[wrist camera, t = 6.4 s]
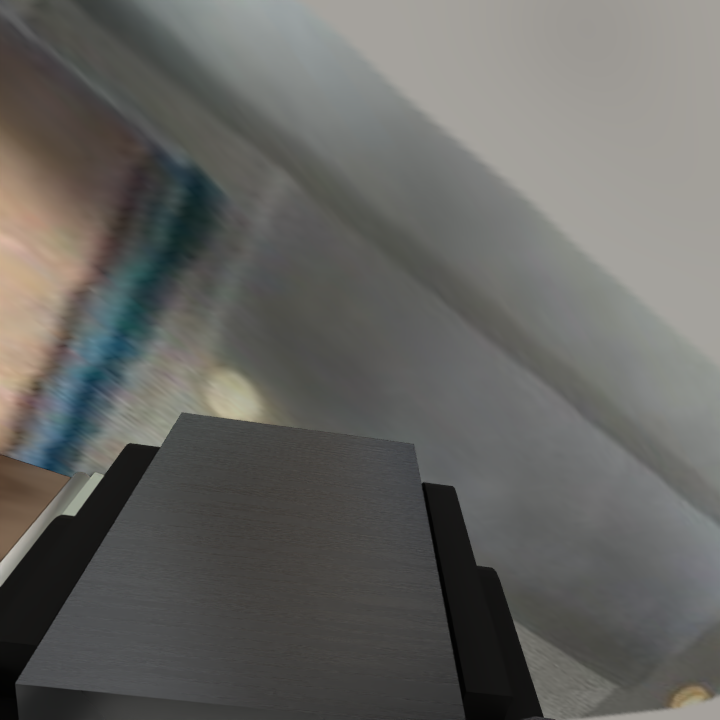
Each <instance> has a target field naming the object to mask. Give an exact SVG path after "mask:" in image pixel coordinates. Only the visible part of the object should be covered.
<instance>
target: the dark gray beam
mask: <svg viewBox="0 0 720 720" xmlns="http://www.w3.org/2000/svg"><path fill="white" fill-rule="evenodd" d="M15 687H16V697H17V706H18V716H19V720H466V719H465V714H464V708H463V703H462V698H461V692H460V687H459V682H458V676H457V671H456V666H455V660H454V655H453V650H452V644H451V639H450V634H449V628H448V623H447V618H446V613H445V607H444V602H443V597H442V591H441V586H440V581H439V575H438V570H437V565H436V559H435V554H434V549H433V543H432V538H431V533H430V527H429V522H428V517H427V511H426V506H425V501H424V496H423V490H422V485H421V480H420V474H419V469H418V464H417V458H416V453H415V448H414V444H410V443H402V442H395V441H388V440H380V439H373V438H366V437H358V436H351V435H343V434H336V433H329V432H321V431H314V430H307V429H299V428H292V427H285V426H277V425H270V424H262V423H255V422H248V421H240V420H233V419H226V418H218V417H211V416H203V415H196V414H189V413H181V415H180V416H179V418H178V420H177V421H176V423H175V424H174V426H173V428H172V429H171V431H170V433H169V434H168V436H167V437H166V439H165V441H164V442H163V444H162V446H161V447H160V449H159V450H158V452H157V454H156V455H155V457H154V459H153V460H152V462H151V463H150V465H149V467H148V468H147V470H146V472H145V473H144V475H143V476H142V478H141V480H140V481H139V483H138V485H137V486H136V488H135V489H134V491H133V493H132V494H131V496H130V498H129V499H128V501H127V502H126V504H125V506H124V507H123V509H122V511H121V512H120V514H119V516H118V517H117V519H116V520H115V522H114V524H113V525H112V527H111V529H110V530H109V532H108V533H107V535H106V537H105V538H104V540H103V542H102V543H101V545H100V546H99V548H98V550H97V551H96V553H95V555H94V556H93V558H92V559H91V561H90V563H89V564H88V566H87V568H86V569H85V571H84V572H83V574H82V576H81V577H80V579H79V581H78V582H77V584H76V585H75V587H74V589H73V590H72V592H71V594H70V595H69V597H68V598H67V600H66V602H65V603H64V605H63V607H62V608H61V610H60V611H59V613H58V615H57V616H56V618H55V620H54V621H53V623H52V625H51V626H50V628H49V629H48V631H47V633H46V634H45V636H44V638H43V639H42V641H41V642H40V644H39V646H38V647H37V649H36V651H35V652H34V654H33V655H32V657H31V659H30V660H29V662H28V664H27V665H26V667H25V668H24V670H23V672H22V673H21V675H20V677H19V678H18V680H17V681H16V683H15Z"/></svg>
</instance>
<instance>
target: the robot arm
mask: <svg viewBox="0 0 720 720" xmlns="http://www.w3.org/2000/svg"><path fill="white" fill-rule="evenodd" d="M159 449H160V447H155V446H147V445H140V444H132V443H129V444H127V445H126V446H125V448H124V449H123V450H122V452H121V453H120V455H119V456H118V457H117V459H116V460H115V461H114V463H113V464H112V466H111V467H110V468H109V470H108V471H107V472H106V474H105V475H104V476H103V478H102V479H101V481H100V482H99V483H98V485H97V486H96V487H95V489H94V490H93V492H92V493H91V494H90V496H89V497H88V498H87V500H86V501H85V503H84V504H83V505H82V507H81V508H80V509H79V511H78V512H77V514H76V515H75V516H71V515H63V514H62V515H59V516H57V517H56V518H55V519H54V520H53V521H52V522H51V523H50V524H49V525H48V526H47V528H46V529H45V530H44V531H43V533H42V534H41V535H40V537H39V538H38V539H37V540H36V542H35V543H34V544H33V546H32V547H31V548H30V549H29V551H28V552H27V553H26V555H25V556H24V557H23V558H22V560H21V561H20V562H19V564H18V565H17V566H16V567H15V569H14V570H13V571H12V573H11V574H10V575H9V576H8V578H7V579H6V580H5V582H4V583H3V584H2V585H1V587H0V720H19V716H18V706H17V697H16V687H15V683H16V681H17V680H18V678H19V677H20V675H21V673H22V672H23V670H24V668H25V667H26V665H27V664H28V662H29V660H30V659H31V657H32V655H33V654H34V652H35V651H36V649H37V647H38V646H39V644H40V642H41V641H42V639H43V638H44V636H45V634H46V633H47V631H48V629H49V628H50V626H51V625H52V623H53V621H54V620H55V618H56V616H57V615H58V613H59V611H60V610H61V608H62V607H63V605H64V603H65V602H66V600H67V598H68V597H69V595H70V594H71V592H72V590H73V589H74V587H75V585H76V584H77V582H78V581H79V579H80V577H81V576H82V574H83V572H84V571H85V569H86V568H87V566H88V564H89V563H90V561H91V559H92V558H93V556H94V555H95V553H96V551H97V550H98V548H99V546H100V545H101V543H102V542H103V540H104V538H105V537H106V535H107V533H108V532H109V530H110V529H111V527H112V525H113V524H114V522H115V520H116V519H117V517H118V516H119V514H120V512H121V511H122V509H123V507H124V506H125V504H126V502H127V501H128V499H129V498H130V496H131V494H132V493H133V491H134V489H135V488H136V486H137V485H138V483H139V481H140V480H141V478H142V476H143V475H144V473H145V472H146V470H147V468H148V467H149V465H150V463H151V462H152V460H153V459H154V457H155V455H156V454H157V452H158V450H159ZM421 485H422V490H423V496H424V501H425V506H426V511H427V517H428V522H429V527H430V533H431V538H432V543H433V549H434V554H435V559H436V565H437V570H438V575H439V581H440V586H441V591H442V597H443V602H444V607H445V613H446V618H447V623H448V628H449V634H450V639H451V644H452V650H453V655H454V660H455V666H456V671H457V676H458V682H459V687H460V692H461V698H462V703H463V708H464V714H465V719H466V720H555V719H550V718H544V716H543V713H542V710H541V707H540V704H539V701H538V698H537V695H536V692H535V688H534V685H533V682H532V679H531V676H530V673H529V670H528V667H527V664H526V660H525V657H524V654H523V651H522V648H521V645H520V642H519V639H518V636H517V632H516V629H515V626H514V623H513V620H512V617H511V614H510V611H509V608H508V604H507V601H506V598H505V595H504V592H503V589H502V586H501V583H500V580H499V577H498V575H497V573H496V571H495V570H494V569H493V568H490V567H482V566H476V562H475V558H474V555H473V551H472V548H471V544H470V540H469V537H468V533H467V530H466V526H465V522H464V519H463V515H462V512H461V508H460V505H459V501H458V497H457V494H456V490H455V488H454V487H453V486H447V485H439V484H432V483H424V482H423V483H422V484H421Z"/></svg>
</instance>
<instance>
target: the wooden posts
mask: <svg viewBox="0 0 720 720" xmlns="http://www.w3.org/2000/svg"><path fill="white" fill-rule="evenodd" d="M70 478H71V477H68V476H64V475H61V474H58V473H55V472H52V471H49V470H46V469H43V468H40V467H37V466H34V465H30V464H27V463H24V462H21V461H18V460H15V459H12V458H9V457H6V456H3V455H0V563H1V561H2V560H3V559H4V558H5V557H6V555H7V554H8V553H9V552H10V551H11V549H12V548H13V547H14V546H15V545H16V543H17V542H18V541H19V540H20V539H21V537H22V536H23V535H24V534H25V533H26V532H27V530H28V529H29V528H30V527H31V526H32V524H33V523H34V522H35V521H36V520H37V518H38V517H39V516H40V515H41V514H42V512H43V511H44V510H45V509H46V508H47V506H48V505H49V504H50V503H51V502H52V500H53V499H54V498H55V497H56V496H57V494H58V493H59V492H60V491H61V490H62V489H63V487H64V486H65V485H66V484H67V483H68V481H69V480H70Z"/></svg>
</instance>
